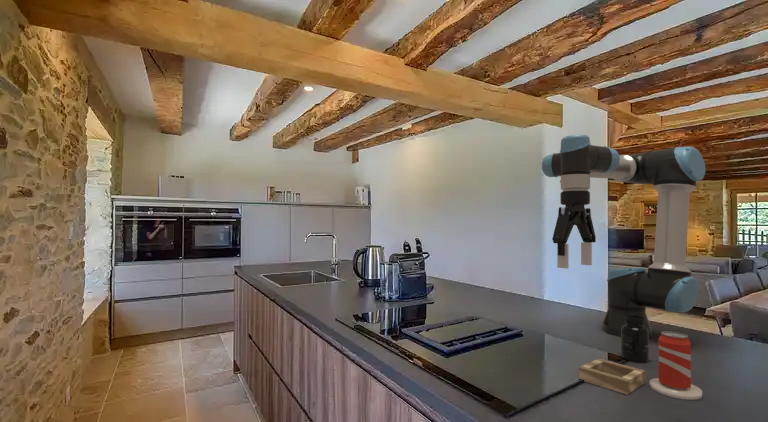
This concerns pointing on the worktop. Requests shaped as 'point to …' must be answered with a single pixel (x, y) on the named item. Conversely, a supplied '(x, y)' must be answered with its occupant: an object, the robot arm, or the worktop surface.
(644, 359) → the supplement bottle
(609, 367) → the oak holder
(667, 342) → the beverage can
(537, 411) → the worktop surface
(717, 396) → the worktop surface
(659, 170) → the robot arm
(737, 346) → the worktop surface
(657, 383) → the coaster
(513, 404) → the worktop surface
